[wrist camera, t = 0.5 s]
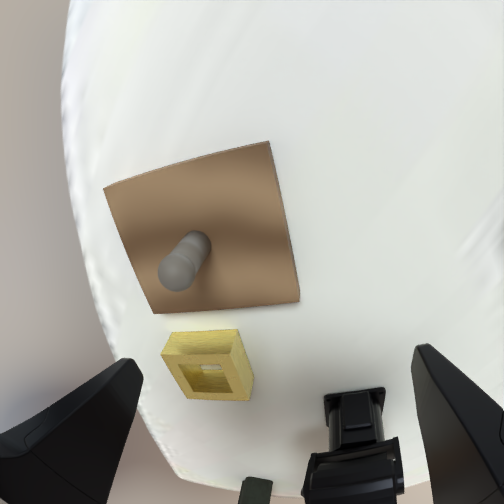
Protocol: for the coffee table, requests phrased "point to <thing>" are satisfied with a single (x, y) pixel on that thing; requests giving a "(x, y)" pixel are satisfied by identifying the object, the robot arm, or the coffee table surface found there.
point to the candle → (255, 491)
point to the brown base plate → (208, 232)
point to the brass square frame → (206, 353)
